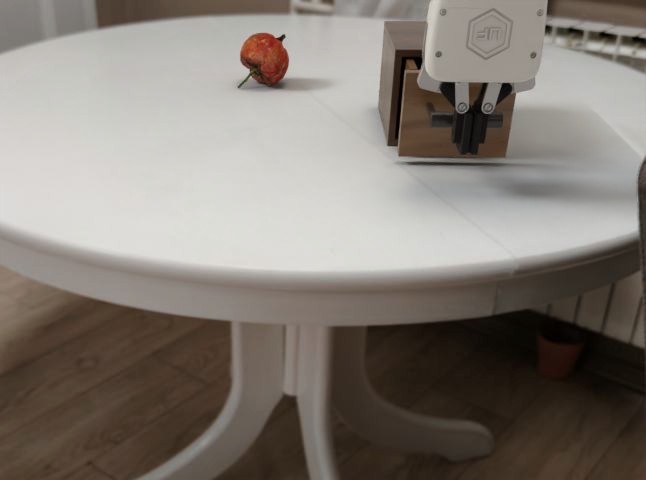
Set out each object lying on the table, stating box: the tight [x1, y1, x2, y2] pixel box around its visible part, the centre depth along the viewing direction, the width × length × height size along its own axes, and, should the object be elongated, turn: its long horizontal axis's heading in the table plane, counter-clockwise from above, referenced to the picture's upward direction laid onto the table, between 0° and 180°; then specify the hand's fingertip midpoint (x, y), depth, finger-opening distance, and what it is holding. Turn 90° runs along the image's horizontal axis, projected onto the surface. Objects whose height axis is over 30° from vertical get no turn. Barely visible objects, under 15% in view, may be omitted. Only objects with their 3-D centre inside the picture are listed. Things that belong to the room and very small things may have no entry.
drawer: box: [396, 57, 517, 159], centre depth 88 cm, size 20×11×9 cm, turn 177°
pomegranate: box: [237, 32, 290, 89], centre depth 113 cm, size 7×7×10 cm
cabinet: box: [377, 20, 427, 147], centre depth 96 cm, size 16×13×11 cm
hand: (466, 150), depth 78 cm, fingers closed
